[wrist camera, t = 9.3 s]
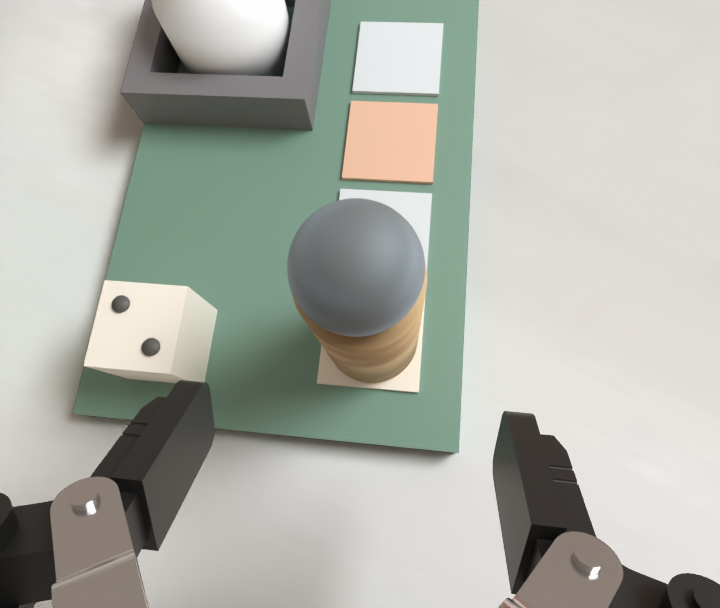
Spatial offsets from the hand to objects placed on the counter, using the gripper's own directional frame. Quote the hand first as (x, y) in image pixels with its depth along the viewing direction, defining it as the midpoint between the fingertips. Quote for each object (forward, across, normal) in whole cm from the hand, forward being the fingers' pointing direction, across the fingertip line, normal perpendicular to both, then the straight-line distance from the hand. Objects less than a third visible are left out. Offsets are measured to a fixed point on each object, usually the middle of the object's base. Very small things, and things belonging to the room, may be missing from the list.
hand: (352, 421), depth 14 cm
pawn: (+8, 0, -2) cm, 9 cm away
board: (+15, -5, +2) cm, 15 cm away
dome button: (+19, -9, +8) cm, 22 cm away
